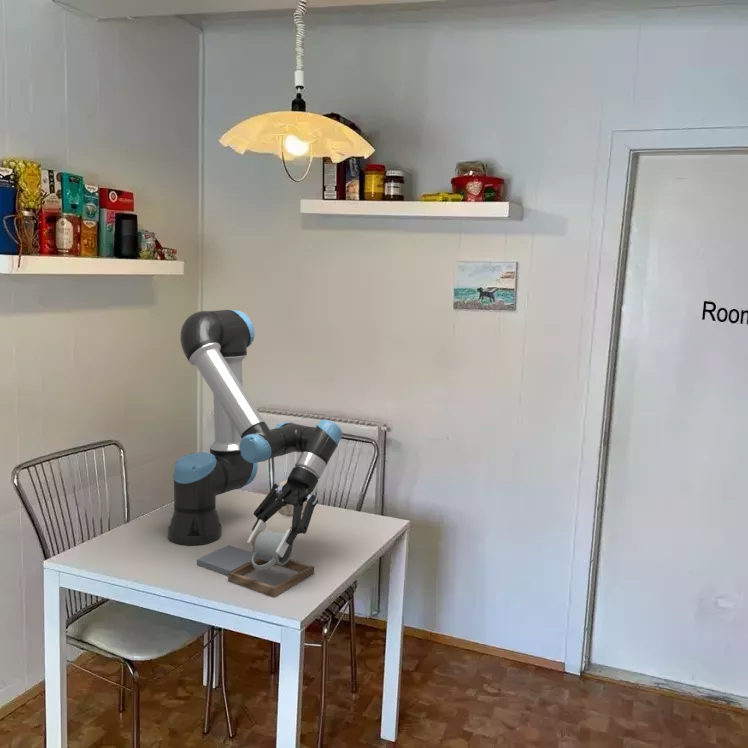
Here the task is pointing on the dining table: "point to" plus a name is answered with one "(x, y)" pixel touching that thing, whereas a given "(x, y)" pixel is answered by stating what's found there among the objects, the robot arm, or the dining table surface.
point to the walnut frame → (264, 588)
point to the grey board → (226, 559)
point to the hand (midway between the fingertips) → (264, 549)
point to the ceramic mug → (269, 549)
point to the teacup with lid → (288, 508)
